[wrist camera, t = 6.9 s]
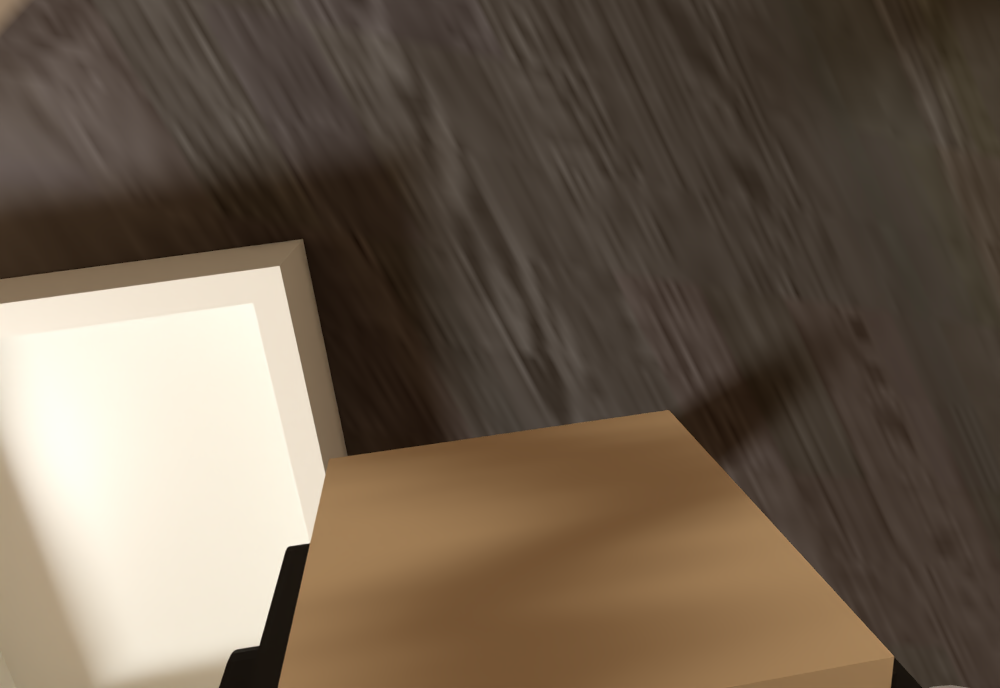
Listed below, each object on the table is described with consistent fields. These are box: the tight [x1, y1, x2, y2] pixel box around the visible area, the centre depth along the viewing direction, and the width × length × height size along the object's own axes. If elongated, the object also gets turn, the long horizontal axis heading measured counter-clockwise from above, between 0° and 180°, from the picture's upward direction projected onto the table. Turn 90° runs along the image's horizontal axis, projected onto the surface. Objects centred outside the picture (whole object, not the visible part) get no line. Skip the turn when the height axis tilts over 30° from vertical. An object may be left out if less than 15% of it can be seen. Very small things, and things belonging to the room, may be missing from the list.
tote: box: [0, 239, 348, 688], centre depth 25 cm, size 16×20×5 cm
